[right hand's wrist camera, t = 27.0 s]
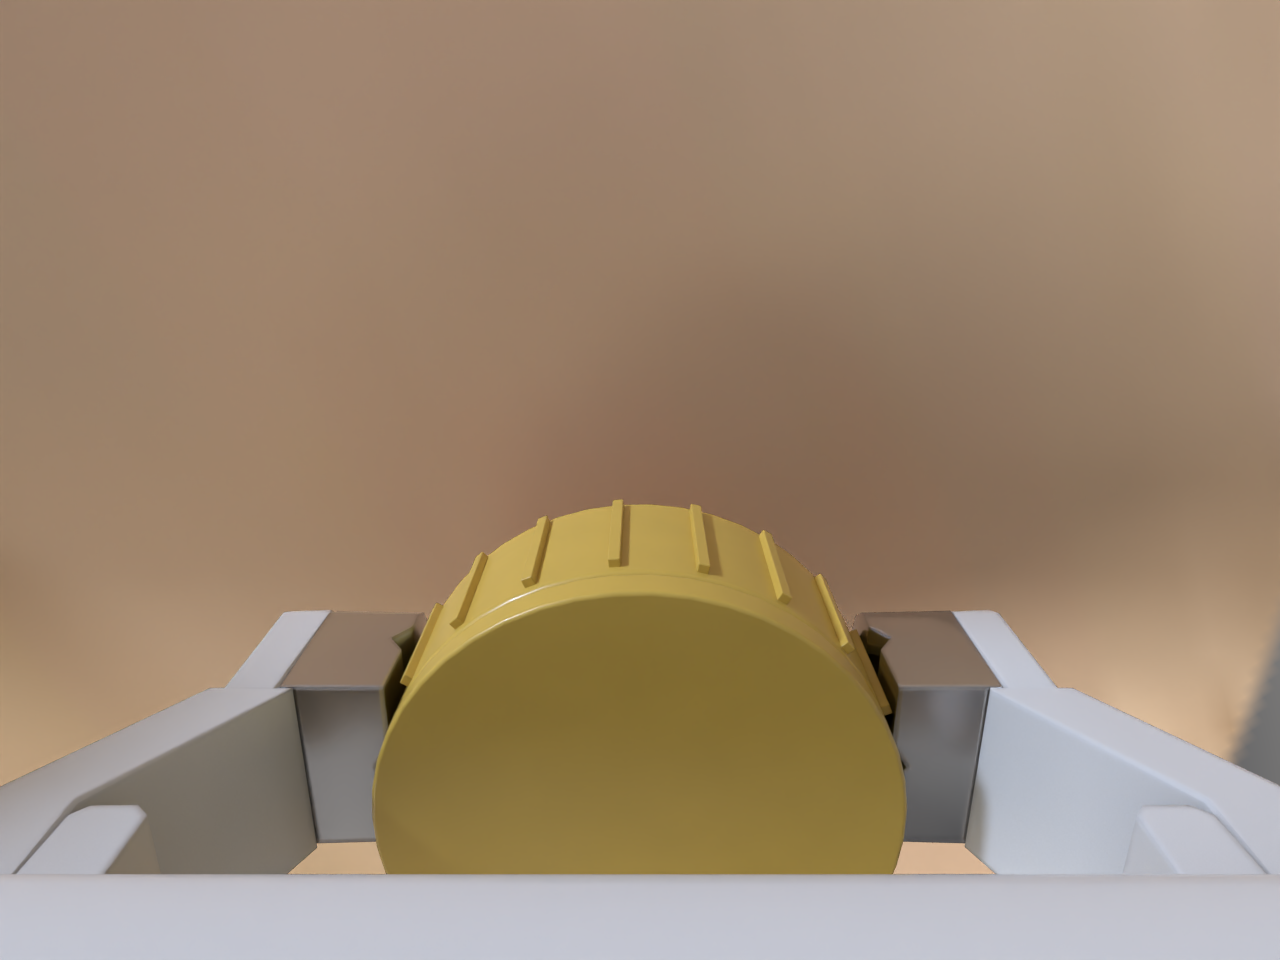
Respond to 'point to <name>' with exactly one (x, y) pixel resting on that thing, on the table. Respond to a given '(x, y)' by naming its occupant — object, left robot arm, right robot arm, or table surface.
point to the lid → (639, 712)
